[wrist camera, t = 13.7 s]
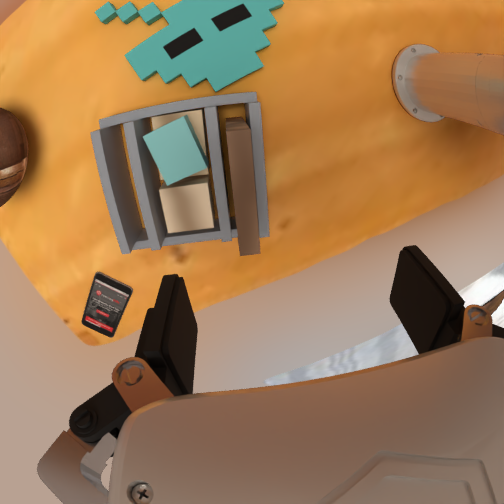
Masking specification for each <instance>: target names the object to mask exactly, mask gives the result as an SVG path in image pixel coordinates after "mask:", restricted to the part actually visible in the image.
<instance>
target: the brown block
mask: <svg viewBox="0 0 504 504" xmlns="http://www.w3.org/2000/svg"><path fill="white" fill-rule="evenodd" d="M226 135H227V145H228V154H229V163H230V173H231V182H232V191H233V200H234V208H235V217H236V226H237V234H238V243H239V251H240V256H244V255H253V254H260V241H259V228H258V216H257V203H256V190H255V178H254V166H253V153H252V141H251V130H250V128H249V126H248V125H247V124H246V122H245V121H244V120H243V118H242V117H231V118H226Z"/></svg>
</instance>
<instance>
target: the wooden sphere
mask: <svg viewBox="0 0 504 504" xmlns="http://www.w3.org/2000/svg"><path fill="white" fill-rule="evenodd" d="M27 162H28V141H27V136H26V133H25V130H24V128H23V126H22V124H21V123H20V121H19V120H18V119H17V118H16V117H15V116H14V115H13V114H12V113H11V112H9V111H7V110H5V109H2V108H0V207H1V206H2V205H4V204H5V203H6V202H7V201H8V200H9V199H10V198H11V197H12V196H13V195H14V193H15V192H16V190H17V189H18V187H19V185H20V184H21V182H22V179H23V177H24V174H25V171H26V167H27Z"/></svg>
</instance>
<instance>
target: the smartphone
mask: <svg viewBox="0 0 504 504" xmlns="http://www.w3.org/2000/svg"><path fill="white" fill-rule="evenodd" d="M132 292H133V289H132V288H131V287H130V286H128V285H126V284H124V283H122V282H120V281H118V280H115V279H113V278H111V277H109V276H107V275H105V274H103V273H101V272H96V274H95V276H94V280H93V283H92V286H91V289H90V293H89V296H88V300H87V303H86V307H85V310H84V314H83V318H82V324H83V325H84V326H86V327H89V328H91V329H93V330H95V331H97V332H99V333H101V334H104V335H106V336H108V337H113V336H114V334H115V332H116V329H117V327H118V324H119V322H120V320H121V317H122V315H123V313H124V310H125V308H126V306H127V303H128V301H129V299H130V297H131V294H132Z"/></svg>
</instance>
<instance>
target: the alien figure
mask: <svg viewBox="0 0 504 504" xmlns="http://www.w3.org/2000/svg"><path fill="white" fill-rule="evenodd" d="M283 4H284V2H283V1H282V0H182V1H180V2H179V3H177V4H175V5H173V6H172V7H170V8H168V9H166V10H165V11H163V12H162V13H161V12H160V10H159V9H158V8H157V6H156V5H155V4H154V3H153V2H152V3H150V4H148V5H147V6H145V7H144V8H142V9H141V10H139V11H138V10H137V8H136V7H135V6H134V4H133V3H131V2H128V3H127V4H125V5H124V6H122V7H121V8H119V9H118V10H116V8H115V7H114V6H113V4H111V3H110V2H107V3H106V4H105V5H103V6H102V7H101V8H99V9H98V10H97V11H96V12H95V13H96V15H97V16H98V18H99V19H100V21H101V22H102V23H104V24H107V23H109V22H110V21H111V20H113V19H114V18H115V17H117V16H119V17H120V19H121V20H122V21H123V22H124V23H125V24H128V23H130V22H131V21H133V20H134V19H136V18H137V17H138V16H141V17H142V18H143V20H144V21H145V23H147V24H148V25H150V24H152V23H154V22H155V21H157V20H158V19H160V18H161V17H163V16H164V18H165V19H166V20H167V22H168V23H169V25H168V26H166V27H165V28H163V29H162V30H160V31H158V32H157V33H155V34H154V35H152V36H151V37H149V38H148V39H146V40H145V41H143V42H142V43H141V44H139V45H138V46H136V47H135V48H134V49H132V50H131V51H129V52H128V53H127V54H125V55H124V56H125V57H126V58H127V60H128V61H129V63H130V64H131V66H132V67H133V69H134V70H135V72H136V73H137V75H138V76H139V77H140V79H141V80H143V81H146V80H147V79H148V78H150V77H151V76H153V75H154V74H156V73H157V72H158V73H159V75H160V76H161V78H162V79H163V80H164V82H165V83H167V84H168V83H170V82H171V81H173V80H175V79H176V78H178V77H179V76H181V75H182V76H183V77H184V79H185V80H186V82H187V83H188V85H189V86H190V87H193V86H195V85H197V84H198V83H200V82H202V81H203V80H205V79H207V80H208V81H209V83H210V84H211V86H212V87H213V89H214V90H215V92H217V91H219V90H220V89H222V88H224V87H226V86H227V85H229V84H231V83H233V82H235V81H237V80H238V79H240V78H242V77H244V76H246V75H248V74H250V73H252V72H254V71H256V70H258V69H260V68H262V67H263V66H264V65H263V64H262V62H261V61H260V59H259V57H258V56H257V54H256V53H255V52H257V51H259V50H262V49H264V48H266V47H268V46H269V45H270V44H271V43H270V42H269V40H268V39H267V37H266V36H265V34H264V33H263V31H265V30H267V29H269V28H272V27H274V26H276V24H277V21H276V20H275V18H274V17H273V15H272V14H271V12H270V11H273V10H275V9H278V8H280V7H282V6H283Z"/></svg>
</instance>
